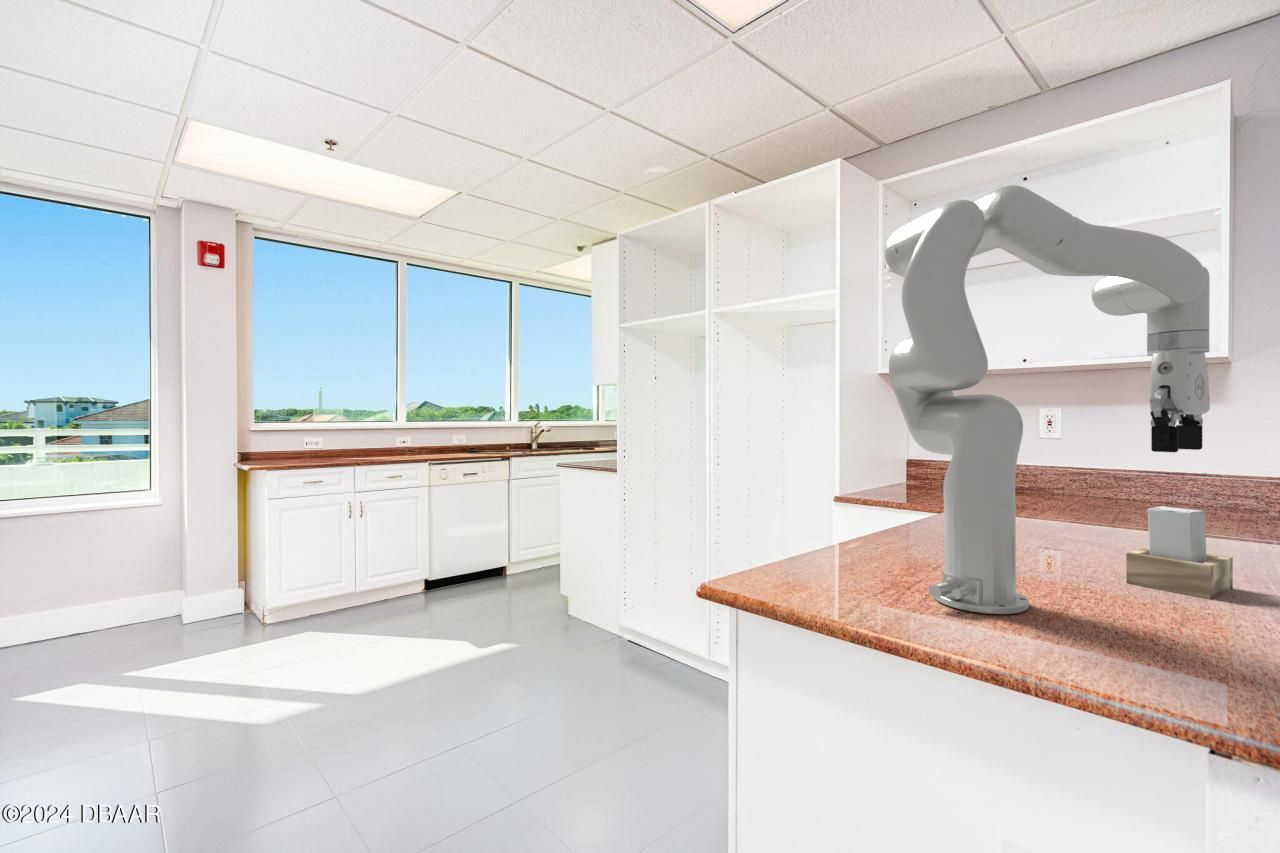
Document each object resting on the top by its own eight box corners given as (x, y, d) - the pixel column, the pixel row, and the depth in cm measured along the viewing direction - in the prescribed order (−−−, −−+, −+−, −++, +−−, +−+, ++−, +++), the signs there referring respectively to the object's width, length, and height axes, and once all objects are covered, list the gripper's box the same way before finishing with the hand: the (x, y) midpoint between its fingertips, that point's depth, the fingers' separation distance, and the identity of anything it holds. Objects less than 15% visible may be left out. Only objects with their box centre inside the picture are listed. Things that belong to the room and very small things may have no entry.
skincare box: (1208, 585, 96) (1208, 510, 95) (1193, 589, 94) (1193, 512, 94) (1162, 576, 101) (1162, 505, 101) (1147, 580, 99) (1146, 507, 99)
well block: (1210, 599, 91) (1210, 566, 91) (1126, 582, 100) (1126, 553, 100) (1232, 588, 95) (1232, 557, 95) (1150, 574, 105) (1150, 545, 104)
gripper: (1186, 339, 89) (1185, 454, 90) (1228, 344, 98) (1227, 449, 98) (1125, 344, 96) (1125, 451, 96) (1169, 349, 104) (1169, 447, 105)
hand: (1177, 450), depth 97 cm, fingers open, 9 cm apart
